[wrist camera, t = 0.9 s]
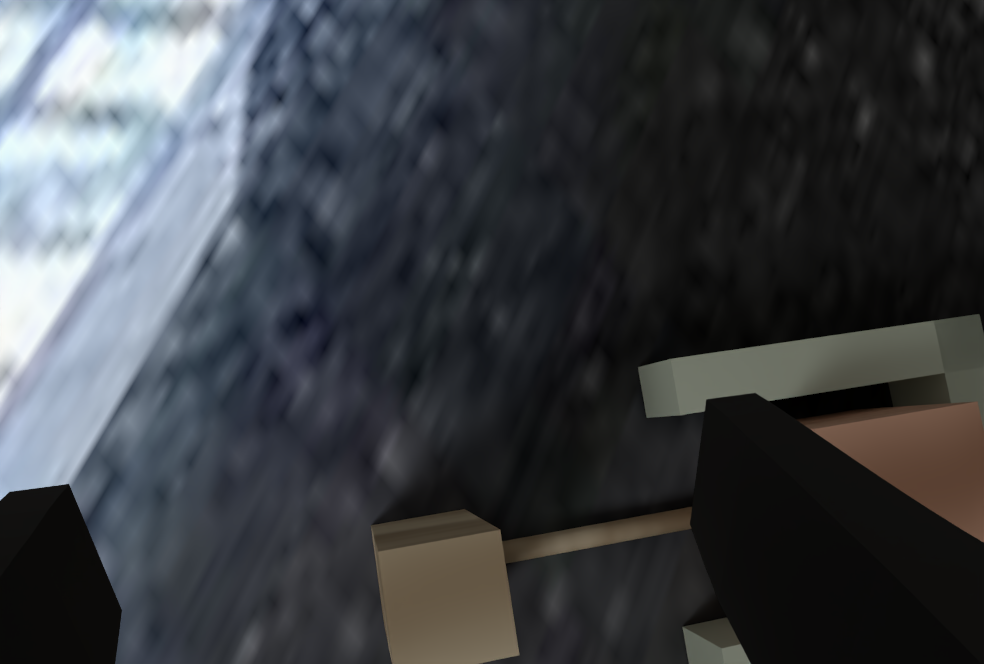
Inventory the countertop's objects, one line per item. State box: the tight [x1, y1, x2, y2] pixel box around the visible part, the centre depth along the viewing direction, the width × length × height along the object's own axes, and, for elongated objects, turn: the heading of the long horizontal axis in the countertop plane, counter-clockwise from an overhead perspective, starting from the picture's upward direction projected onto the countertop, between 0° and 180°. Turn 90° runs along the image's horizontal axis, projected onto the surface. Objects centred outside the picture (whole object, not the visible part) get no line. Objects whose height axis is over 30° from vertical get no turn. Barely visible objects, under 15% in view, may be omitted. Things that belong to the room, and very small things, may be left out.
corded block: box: [371, 401, 984, 664], centre depth 21 cm, size 4×15×6 cm, turn 99°
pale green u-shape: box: [638, 314, 984, 664], centre depth 23 cm, size 9×10×2 cm
